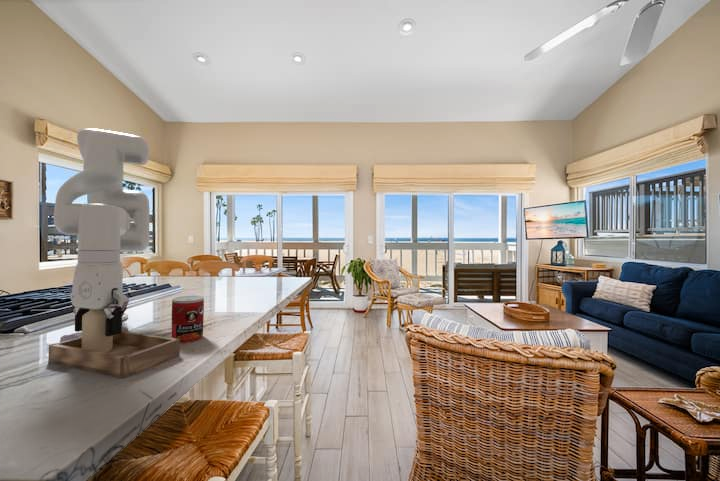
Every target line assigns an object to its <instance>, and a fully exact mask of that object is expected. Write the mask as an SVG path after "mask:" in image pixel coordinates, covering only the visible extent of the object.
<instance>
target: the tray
mask: <svg viewBox="0 0 720 481" xmlns="http://www.w3.org/2000/svg"><path fill="white" fill-rule="evenodd" d="M128 331H129V330H128ZM128 331H122V332H121V333H120V334H116V335H113V345H112V350H111V351H109V352H107V353H104V352H98V351H93V350H87V349H82V337H79V338H75V339H71V340H67V341H63V342H60V341H59V342H56V343H52V344H48V364H53V365H56V366H57V365H58V366H62V367H68V368H71V369H77V370H82V371H88V372H92V373H95V374H101V375H105V376H111V377H116V378H121V379H126V378H129V377H130V376H132V375H136V374H137V373H139V372H142V371H146V370H147V369H150V368H152V367H155V366H157V365H160V364H162V363H165V362H167V361H169V360H172V359H174V358H177V357H179V356H181V354H180V352H181V350H180V349H181V343H180V339H176V338H172V337H169V336H163V335H162V336H161V335H154V334H147V333H141V332H140V333H139V332H133V331H129V332H128Z"/></svg>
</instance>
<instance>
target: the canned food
mask: <svg viewBox="0 0 720 481" xmlns="http://www.w3.org/2000/svg"><path fill="white" fill-rule="evenodd" d="M204 300H205V299H204V296H202V295H181V296H175V297H174V298H172V299H171V334H170V335H171V337H170V338H176V339H180V344H181V343H191V342H195V341H196V342H197V341H199V340H200V339H202V338H203V335H204V315H205V314H204V312H205V311H204V310H205V308H204V307H205V303H204V302H205V301H204Z"/></svg>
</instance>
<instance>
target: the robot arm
mask: <svg viewBox="0 0 720 481" xmlns="http://www.w3.org/2000/svg"><path fill="white" fill-rule="evenodd" d="M76 142H77V146H78V150H79V153H80V156H81V157H82V159H83V166H82V167H83V168H82V169H83V170H82V171H80V172H78V173H76V174H74V175H73V176H71V177H70V178H69V179H67V180H66V181H65V182H64V183H63V184H62V185H60V187H59V188H58V190H57V193H56V196H55V202H54V211H53V225H54V227H55V229H56V231H58V232H59V233H60V234H63V235H67V236H68V235H69V236H77V263H76V265H75V269H74V274H73V278H72V287H71V288H72V289H71V293H70V294H69V297H70V301H71V306H72V308H73V312H72V313H73V315H74V332H75V333H80V332H82V316H83V315H84V314H85V313H87V312H89V311H90V310H101V309H104V311H105V313H106V314H107V316H108V318H106V322H105V336H108V337H109V336H112V335H116V334H120V333H121V332H122V327H123V324H122V323H123V321H125V320H126V319H128V317H129V314H128V313H126V311H127V309H128V305H129V302H130V298H129V297H128V296H126V295H125V294H124V293H123V291H124V290H123V288H124V287H123V284H124V283H123V279H124V276H123V275H124V272H123V271H124V266H123V263H122V261H121V252H123V253H124V252H126V253H127V252H143V251H145V250H147V249H148V247H149V244H150V201H149V198H148V196H147V194H146V193H145V192H142V191H137V190H130V189H129V190H127V189H124V188H123V182H124V164H128V165H136V166H145V165H147V163H148V161H149V158H150V148H149V143H148V142H147V140H146V139H145V137H143V136H140V135H136V134H135V135H134V134H129V133H123V132H119V131H118V132H117V131H111V130H104V129H99V128H83V129H80V130H79V131H78V132H77V134H76ZM86 195H88V203H73V202H74V201H76V200H77V199H78V198H80V197H83V196H86ZM131 221H132V222H131Z"/></svg>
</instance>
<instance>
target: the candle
mask: <svg viewBox="0 0 720 481" xmlns="http://www.w3.org/2000/svg"><path fill="white" fill-rule="evenodd" d="M106 318H108V316H107V314H106V313H105V311H104V309H101V310H90V311H89V312H87V313H85V314H84V315H83V316H82V331H81V332H82V349H87V350H93V351H98V352H104V353H107V352H109V351H111V350H112V345H113V335H112V336H109V337H108V336H105V322H106Z"/></svg>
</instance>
